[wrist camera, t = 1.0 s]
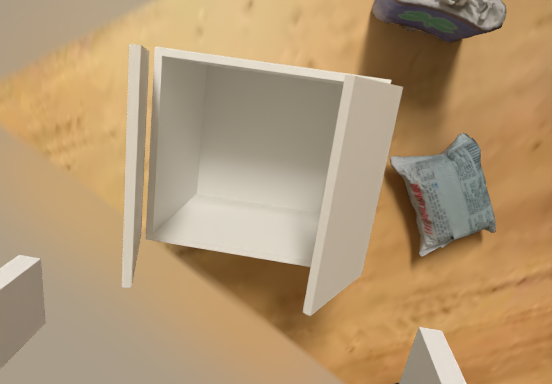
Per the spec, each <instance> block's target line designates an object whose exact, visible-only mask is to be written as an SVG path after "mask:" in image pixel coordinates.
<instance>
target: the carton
mask: <svg viewBox="0 0 552 384" xmlns="http://www.w3.org/2000/svg"><path fill="white" fill-rule="evenodd" d="M345 75H352V76H358V77H362V78H366V79H371V80H375V81H379V82H384V83H388V84H391V80H389V79H382V78H375V77H368V76H361V75H354V74H347V73H339V72H332V71H325V70H318V69H311V68H304V67H297V66H290V65H283V64H276V63H269V62H262V61H255V60H247V59H240V58H233V57H226V56H219V55H212V54H205V53H198V52H191V51H184V50H177V49H170V48H162V47H155V56H154V77H153V97H152V118H151V139H150V159H149V180H148V201H147V221H146V239H148V240H153V241H159V242H165V243H171V244H177V245H183V246H189V247H195V248H201V249H207V250H212V251H218V252H224V253H230V254H236V255H242V256H248V257H254V258H260V259H266V260H271V261H277V262H283V263H289V264H295V265H301V266H307V267H311V263H312V257H313V252H314V246H315V241H316V235H317V229H318V224H319V218H320V213H321V207H322V202H323V196H324V190H325V185H326V179H327V174H328V168H329V163H330V157H331V152H332V146H333V140H334V135H335V129H336V124H337V118H338V113H339V107H340V101H341V96H342V90H343V85H344V79H345Z"/></svg>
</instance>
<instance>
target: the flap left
mask: <svg viewBox="0 0 552 384" xmlns="http://www.w3.org/2000/svg"><path fill="white" fill-rule="evenodd" d="M148 69H149V51H148V50H147V49H146V48H144V47H143V46H141V45H135V44H129V73H128V105H127V137H126V169H125V201H124V235H123V265H122V266H123V267H122V287H123V288H129V287H130V288H131V287H132V282H133V277H134V271H135V265H136V260H137V255H138V249H139V244H140V238H141V225H142V203H143V181H144V158H145V136H146V114H147V91H148Z"/></svg>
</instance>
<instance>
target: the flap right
mask: <svg viewBox="0 0 552 384" xmlns="http://www.w3.org/2000/svg"><path fill="white" fill-rule="evenodd" d="M402 90H403V87H401V86H397V85H392V84H388V83H384V82H379V81H375V80H371V79H366V78H362V77H358V76H352V75H345V79H344V85H343V90H342V96H341V101H340V107H339V113H338V118H337V124H336V129H335V135H334V140H333V146H332V152H331V157H330V163H329V168H328V174H327V179H326V185H325V190H324V196H323V202H322V207H321V213H320V218H319V224H318V229H317V235H316V241H315V246H314V252H313V257H312V263H311V268H310V274H309V279H308V285H307V291H306V296H305V302H304V307H303V313H305V314H307V315H309V316H311V315H312V314H314V313H315V312H316V311H317V310H319V309H320V308H321V307H322V306H324V305H325V304H326V303H327V302H329V301H330V300H331V299H332V298H333V297H335V296H336V295H337V294H338V293H340V292H341V291H342V290H343V289H345V288H346V287H347V286H348V285H350V284H351V283H352V282H353V281H354V280H356V279H357V278H358V277H359V276H361V275H362V271H363V267H364V262H365V258H366V253H367V249H368V244H369V240H370V235H371V231H372V226H373V221H374V217H375V212H376V208H377V203H378V199H379V194H380V190H381V185H382V181H383V176H384V172H385V167H386V163H387V158H388V154H389V149H390V145H391V140H392V136H393V131H394V127H395V122H396V118H397V113H398V108H399V104H400V99H401V95H402Z"/></svg>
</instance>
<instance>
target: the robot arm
mask: <svg viewBox="0 0 552 384" xmlns="http://www.w3.org/2000/svg"><path fill="white" fill-rule="evenodd" d="M44 324H45V309H44V297H43V282H42V268H41V259H39V258H34V257H28V256H22V255H19V256H17V257H16V258H14V259H13V260H12V261H10V262H8V263H7V264H6V265H4V266H3V267H1V268H0V369H1V368H2V367H3V366H4V365H5V364H6V363H7V362H8V360H10V359H11V358H12V357H13V356H14V355H15V354H16V352H18V351H19V350H20V349H21V348H22V347H23V346H24V344H26V342H28V340H29V339H30V338H31V337H32V336H33V335H34V334H35V333H36V332H37V331H38V330H39V329H40V328H41V327H42V326H43V325H44ZM396 384H467V383H466V381H465V379H464V377H463V375H462V373H461V371H460V369H459V366H458V364H457V362H456V360H455V358H454V356H453V354H452V352H451V349H450V347H449V345H448V343H447V341H446V339H445V337H444V334H443V332H442V331H440V330H434V329H429V328H423V327H419V328H418V331H417V334H416V337H415V340H414V343H413V346H412V349H411V351H410V354H409V357H408V360H407V363H406V366H405V369H404V372H403V375H402V378H401V380H400V383H396Z"/></svg>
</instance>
